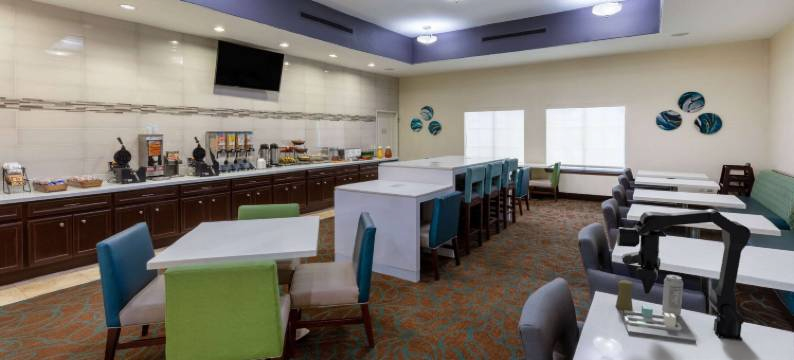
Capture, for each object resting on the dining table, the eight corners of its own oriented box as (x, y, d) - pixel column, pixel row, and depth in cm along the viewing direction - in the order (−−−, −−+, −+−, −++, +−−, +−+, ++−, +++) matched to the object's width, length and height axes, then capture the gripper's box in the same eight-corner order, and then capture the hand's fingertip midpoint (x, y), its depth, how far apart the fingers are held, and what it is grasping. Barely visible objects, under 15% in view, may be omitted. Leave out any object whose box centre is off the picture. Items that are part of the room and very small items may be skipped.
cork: (635, 310, 164) (637, 284, 162) (620, 311, 164) (621, 284, 162) (627, 304, 170) (629, 278, 168) (612, 304, 170) (614, 278, 168)
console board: (681, 321, 154) (682, 308, 153) (695, 343, 139) (697, 328, 138) (621, 314, 161) (621, 301, 160) (628, 334, 146) (629, 320, 145)
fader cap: (672, 324, 149) (673, 313, 149) (675, 328, 147) (675, 316, 146) (663, 323, 150) (663, 312, 150) (665, 326, 148) (666, 315, 147)
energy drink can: (676, 311, 163) (678, 274, 161) (683, 318, 157) (686, 280, 155) (659, 310, 164) (661, 273, 162) (666, 317, 158) (668, 279, 156)
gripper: (627, 238, 161) (626, 277, 163) (620, 251, 146) (619, 293, 148) (661, 242, 154) (659, 282, 156) (657, 255, 139) (655, 300, 141)
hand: (647, 289), depth 151 cm, fingers open, 9 cm apart
